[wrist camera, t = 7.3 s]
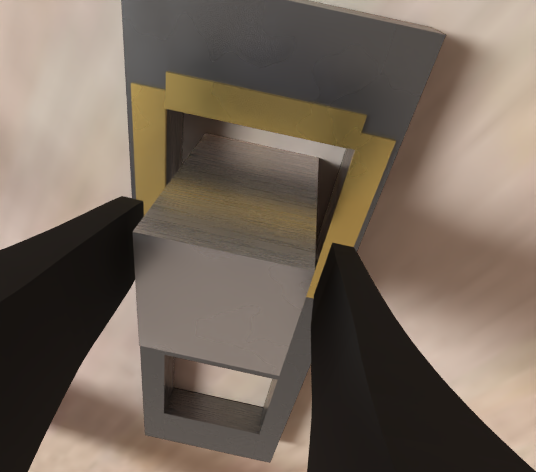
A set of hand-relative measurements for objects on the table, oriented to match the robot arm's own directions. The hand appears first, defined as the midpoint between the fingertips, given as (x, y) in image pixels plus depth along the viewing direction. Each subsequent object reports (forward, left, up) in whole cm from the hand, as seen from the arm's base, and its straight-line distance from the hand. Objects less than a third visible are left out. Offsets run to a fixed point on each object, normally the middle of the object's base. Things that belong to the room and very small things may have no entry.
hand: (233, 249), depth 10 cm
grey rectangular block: (0, 0, -4) cm, 4 cm away
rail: (0, -6, -4) cm, 7 cm away
